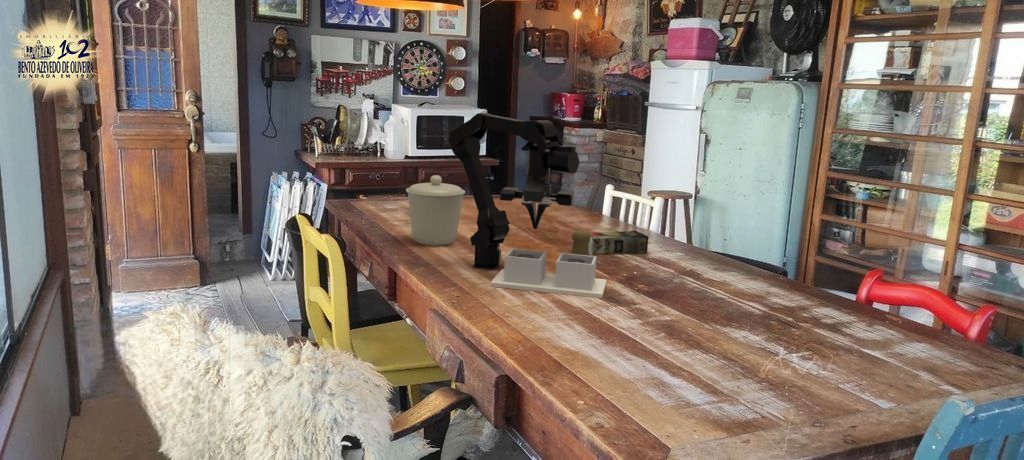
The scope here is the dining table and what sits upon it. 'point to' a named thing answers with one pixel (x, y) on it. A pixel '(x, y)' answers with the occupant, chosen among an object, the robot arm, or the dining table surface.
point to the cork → (581, 242)
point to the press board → (564, 281)
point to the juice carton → (618, 243)
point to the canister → (434, 211)
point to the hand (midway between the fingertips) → (535, 228)
